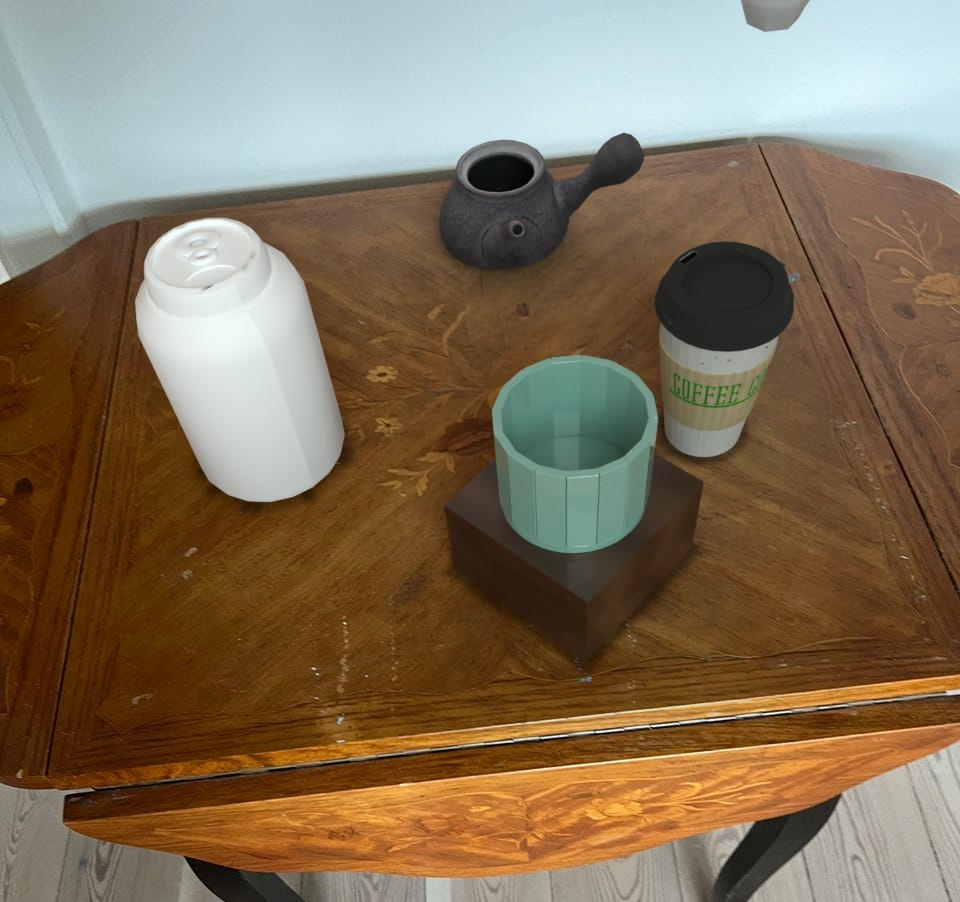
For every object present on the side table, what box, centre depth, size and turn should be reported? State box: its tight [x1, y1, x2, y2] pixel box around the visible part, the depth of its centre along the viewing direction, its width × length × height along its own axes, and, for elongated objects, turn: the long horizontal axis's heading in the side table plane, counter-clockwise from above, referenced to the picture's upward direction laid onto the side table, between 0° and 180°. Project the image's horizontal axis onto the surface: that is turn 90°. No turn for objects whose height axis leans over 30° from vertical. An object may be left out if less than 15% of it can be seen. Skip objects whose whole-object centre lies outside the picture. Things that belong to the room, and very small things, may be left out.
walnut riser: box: [443, 452, 705, 663], centre depth 74 cm, size 13×13×8 cm
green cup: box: [491, 354, 659, 553], centre depth 67 cm, size 10×10×8 cm
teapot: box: [438, 132, 645, 271], centre depth 92 cm, size 19×15×10 cm
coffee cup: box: [653, 241, 795, 458], centre depth 77 cm, size 10×10×15 cm
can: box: [134, 217, 346, 503], centre depth 77 cm, size 12×12×20 cm
